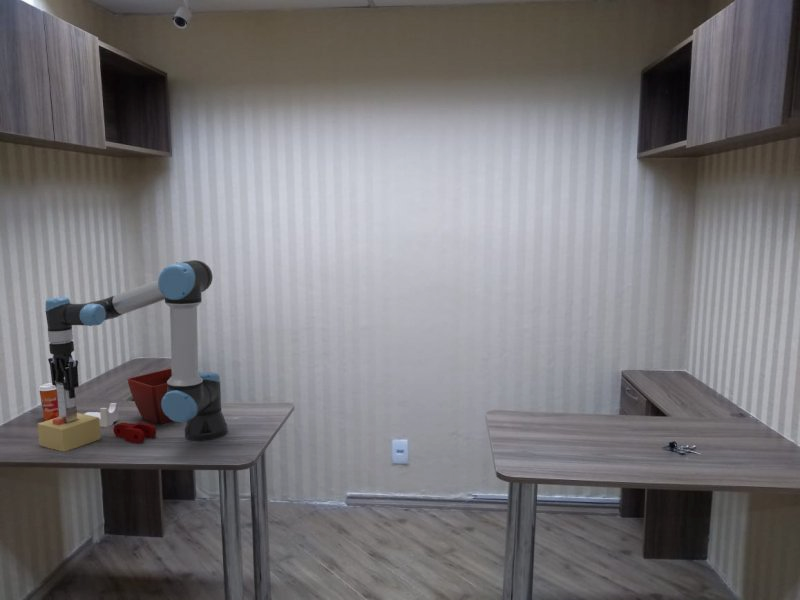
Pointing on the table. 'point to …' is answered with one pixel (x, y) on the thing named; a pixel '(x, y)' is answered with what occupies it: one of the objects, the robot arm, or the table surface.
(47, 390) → the paper cup
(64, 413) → the column
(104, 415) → the bracket
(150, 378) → the plant pot
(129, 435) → the mechanical linkage
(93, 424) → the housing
